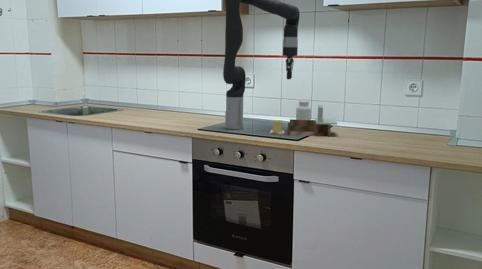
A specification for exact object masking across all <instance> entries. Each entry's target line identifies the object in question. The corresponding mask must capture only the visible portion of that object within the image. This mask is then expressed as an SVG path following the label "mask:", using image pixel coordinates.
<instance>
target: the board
mask: <svg viewBox="0 0 482 269" xmlns="http://www.w3.org/2000/svg"><path fill="white" fill-rule="evenodd" d="M331 127H332V125H329V124H316V121H315V119H311V120H296V118H295V119H293V118H292V119H289V122H288V123H287V130H285V129H282V132H273V129H270V130H269V132H268V135H273V136H274V135H277V136H278V135H280V136H303V137H305V136H306V137H307V136H308V137H309V136H310V137H328V138H329V137H331Z"/></svg>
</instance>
